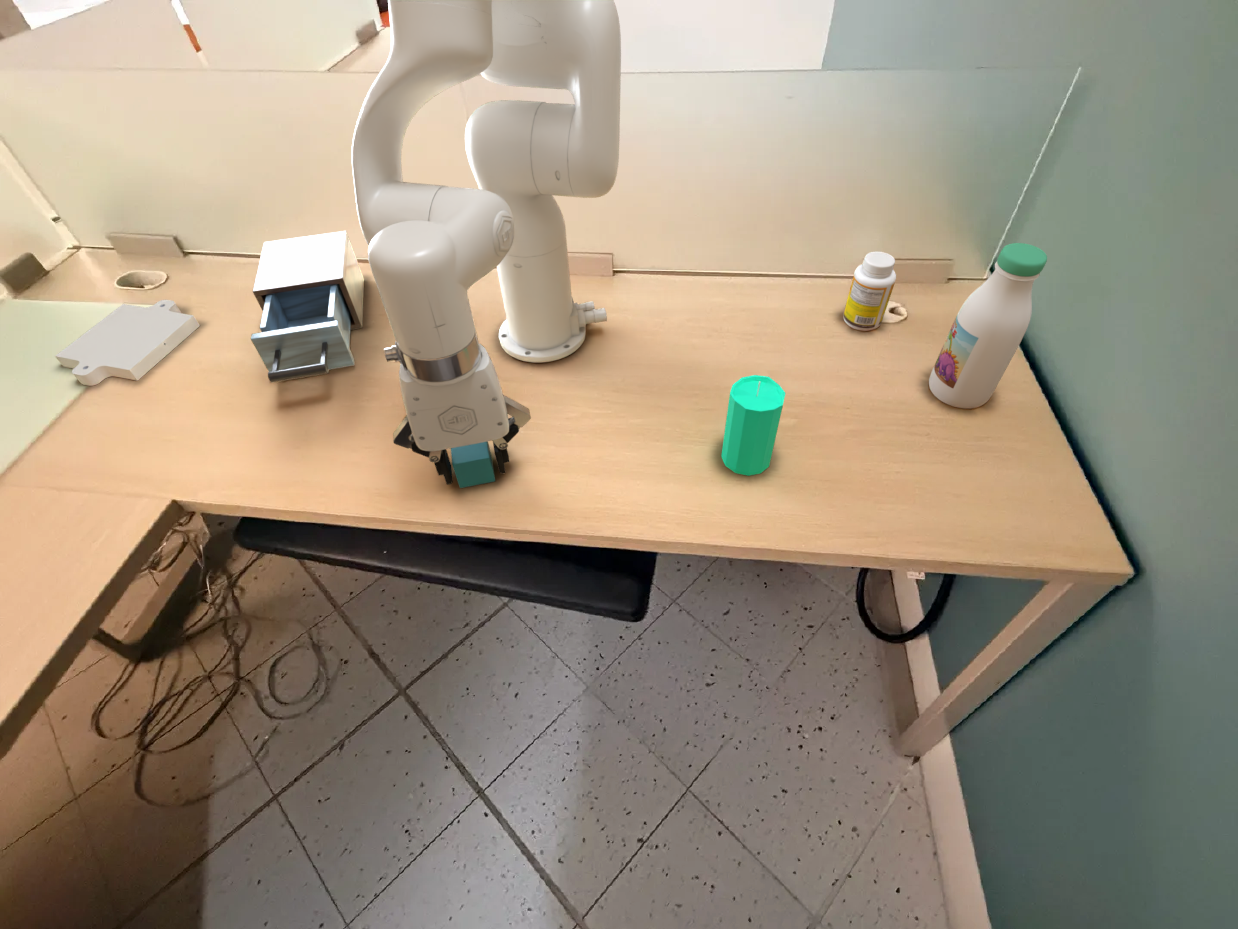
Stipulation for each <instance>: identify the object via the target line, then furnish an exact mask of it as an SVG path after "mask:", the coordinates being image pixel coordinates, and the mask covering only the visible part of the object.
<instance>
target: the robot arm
mask: <svg viewBox="0 0 1238 929" xmlns="http://www.w3.org/2000/svg"><path fill="white" fill-rule="evenodd" d="M387 3H388V4H387V6H388V8H387V9H388V18H389V28H390V50H389V54H388V56H387V57H388V58H387V59H386V62H385V64H384V65H383V66H382V68H381V70H380V72H379V73H378V74H377V76H376V78H375V79H374V81H373V83H372V84H371V86H370V88H369V90H368V91H367V94H366V97H365V98H364V101H363V103H362V106H361V108H360V112H359V114H358V117H357V120H356V125H355V128H354V132H353V137H352V144H351V168H352V177H353V178H352V179H353V187H354V196H355V203H356V204H355V205H356V212H357V216H358V217H357V218H358V221H359V227H360V231H361V232H362V235H363V239H364V240H365V242H366V244H367V246H368V248H367V259H368V263H369V267H370V269H371V273H372V277H373V279H374V282H375V284H376V287H377V290H378V294H379V296H380V299H381V302H382V304H383V307H384V310H385V313H386V316H387V319H388V322H389V325H390V328H391V330H392V333H393V336H394V339H395V342H394V345H391V347H385V348H383V352H384V357H385V360H386V362H387V363H389V362H390V363H391V362H394V363H399V371H398V378H399V387H400V393H401V397H402V402H403V406H404V409H405V410H404V411H405V413H406V415H405V417H404V418H403V419H402V421H400V423H399V425H398V426H397V428H396V429H395V430H394V431H393V433H392V436H393V437H392V438H393V439H392V442H393V444H394V445H396V446H398V447H402V448H405V449H410V450H411V451H412V452H413V453H415V454H418V455H421V456H423V457H426V458H428V460H429V462H430V463H433V464H434V467H435V469H436V472H437V473H436V474H437V475H438V476H443V478H444V481H445V483H446V484H445V485H447V486H448V485H451V484H453V483H454V480H453V469H452V468H453V466H452V462H451V459H450V457H449V454H448V451H447V450H449V449H450V450H451V448H455V447H461V446H466V445H471V444H477V443H482V442H487V441H488V442H492V445H493V452H494V456H495V460H496V464H497V469H498V472H499V474H501V475H504V474H506V473H507V472H506V466H505V464H506V463H510V456H509V451H508V448H509V443H510V442H511V441H512V440H513V438H514V437H515V436H516V435H517V434H518V433H520V432H519V431H520V430H521V428H524V426H525V425H527V423H529V421H531V419H532V416H531V411H530V409H529V407H527V406H525V405H523V404H522V403H519V402H518V401H516V400H515V399H512V398H510V397H508V396H506V395H505V394H504V392H503V388H502V385H501V381H500V379H499V376H498V373H497V370H496V368H495V365H494V362H493V360H492V358H491V356H490V354H489V352H488V350H487V349H486V347H485V346H484V345H483V344H481V343H480V342H479V338H478V334H477V329H476V325H475V321H474V317H473V313H472V308H471V304H470V300H469V296H468V290H469V289H470V288H471V287H472V286H474V284H476V283H477V282H478V281H480V280H482V279H483V278H484V277H486V276H487V275H488V274H490V273H491V272H492V271H493V270H494V269H496V270H497V276H498V281H499V286H500V292H501V296H502V303H503V308H504V313H505V319H504V320H503V321H502V323H501V325H500V327H499V329H498V340H499V344H500V346H501V349H503V351H504V352H505V353H506V354H508V355H509V356H511V357H512V358H514V359H516V360H520V361H523V362H528V363H549V362H553V361H558V360H561V359H564V358H566V357H568V356H569V355H571V354H573V353H574V352H576V351H577V350H579V348H580V347H581V346H582V345H583V343H584V341H585V340H586V335H587V332H586V331H587V330H586V327H587V324H597V323H603V322H607V321H608V315H607V310H606V308H605V307H601V308H596V307H595V303H594V301H593V300H592V301H586V302H582V303H578V302H575V301H574V299H573V298H574V297H573V296H572V295H573V294H572V285H571V274H570V264H569V262H570V261H569V251H568V241H567V229H566V222H565V218H564V215H563V212H562V209H561V207H560V205H559V203H558V202H557V200H556V198H555V197H568V198H581V199H582V198H583V199H597V198H601V197H603V196H605V195H607V194H608V193H609V192H610V191H611V190H612V189H613V187H614V185H615V182H616V179H617V176H618V169H619V161H620V160H619V159H620V140H621V139H620V136H621V135H620V133H621V131H620V130H621V81H622V80H621V79H622V78H621V77H622V35H621V24H620V18H619V17H620V16H619V12H618V9H617V6H616V3H615V0H387ZM479 75H481V77H482V78H483V79H485V80H486V81H488V82H490V83H493V84H496V85H501V86H508V87H516V88H530V89H548V90H560V91H563V90H564V91H568V92H570V94H571V96H572V99H573V101H574V103H561V102H560V103H558V102H546V101H534V100H522V99H521V100H519V99H499V100H493V101H489V102H485V103H483V104H481V105H479V106H478V107H477V108H476V109H474V110H473V112H472V113H471V114H470V116H469V118H468V120H467V122H466V126H465V131H464V145H465V146H464V147H465V152H466V156H467V160H468V164H469V167H470V169H471V172H472V174H473V177H474V180H475V182H476V184H477V187H478V188H472V187H460V186H449V185H442V184H431V183H422V182H421V183H420V182H411V181H410V182H409V181H404V177H403V167H402V166H403V165H402V164H403V163H402V155H403V154H402V152H403V144H404V139H405V136H406V134H407V130H408V129H409V126H410V123H411V122H412V120H413V119H414V118H415V117H416V115H417V113H418V112H419V111H420V110H421V109H422V108H423V107H424V106H425V105H426V104H427V103H428V102H429V101H431V100H432V99H434V98H435V97H436V96H437V95H439V94H441V93H443V92H445V91H446V90H448V89H450V88H453V87H455V86H456V85H459V84H462V83H464V82H466V81H469V80H471V79H473V78H476V77H478V76H479ZM554 196H555V197H554ZM509 416H510V417H509Z"/></svg>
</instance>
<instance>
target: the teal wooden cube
mask: <svg viewBox="0 0 1238 929" xmlns="http://www.w3.org/2000/svg"><path fill="white" fill-rule="evenodd" d="M490 448H491V447H490V445H489V441H487V442H482V443H477V444H471V445H466V446H461V447H455V448H450V455H451V467H452V468H453V469H452V470H453V472H454V474H455V478H456V480H457V484H458V487H459V488H460V489H463V488H468V487H469V488H470V487H474V486H480V485H484V484H490V483H494V482H496V476H495V468H494V463H493V462H494V461H493V456H492V453H491V449H490Z"/></svg>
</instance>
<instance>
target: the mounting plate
mask: <svg viewBox="0 0 1238 929" xmlns="http://www.w3.org/2000/svg"><path fill="white" fill-rule="evenodd" d="M200 326H201V325H200V323H199V322H198V320H197V319H196V317H195V315H194V314H187V313H182V312H181V309H180V308H179V307H178V304H177V303H176V302H175V301H174V300H172V299H161V300H158V301H157V302H156V303H154V304H153V305H151V306H147V307H145V306H139V305H132V304H128V303H127V304H126V303H122V304H120V306H117V308H116V309H114V310H113V311H112V312H110V313H109V314H107V315H106V316H105V317H103V318H102V319H101V320H99V321H98V322H97V323H96V324H95V325H93V326H92V327H91V328H89V329H88V330H87V331H86V332H84V333H83V334H81V335H80V336H79V337H77V338H76V339H74V341H72V342H71V343H70V344H68V345H67V346H65V348H63V349H62V350H60V351H59V352H57V354H55V355H54V357H55V359H56V360H57V361H58V362H59V363H60V365H61V366H62V367H63V368H69V369H72V370H71V374H72V375H73V376H74V377H75V378H76V379H77V380H78V382H79V383H80V384H81V385H82V386H83V385H84V386H88V387H92V386H96V385H99V384H100V383H101V382H103V381H104V380H105V379H107V378H109V377H116V378H120V379H125V380H132V381H137V382H138V381H139V380H140V379H142V378H143V377H144V376H145V375H146V374H147V373H149V372H150V371H151V370H152V369H153V368H154V367H155V366H156V365H157V364H158V363H160V362H161V361H162V360H163V359H164V358H165V357H166V356H168V355H169V354H170V353H171V352H172V351H173V350H174V349H175V348H177V347H178V346H179V345H180V344H181V343H182V342H183V341H185V340H186V339H187V338H188V337H189V336H190V335H192V334H193V333H194V332H195V331H196V330H197V329H198V328H200Z"/></svg>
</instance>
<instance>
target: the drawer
mask: <svg viewBox="0 0 1238 929" xmlns="http://www.w3.org/2000/svg"><path fill="white" fill-rule="evenodd" d="M259 323H260V324H259V330H260V332H255V333H251V337H250V340H251V342H252V345H253V346H254V348H255V349H256V351H257V353H258V355H259V357H260V358H261V360H262V362H263V364H264V366H265V368H266V369H267V377H268V381H269V382H270V383H277V382H283V381H284V382H285V381H289V380H294V379H302V378H308V377H314V376H321V375H326V374H329V373H330V371H329V370H334V369H341V368H347V367H352V366H355V361H356V360H355V358H354V355H353V353H352V351H351V348H350V342H351V330H350V326H351V313H350V310H349V308H348V305H347V303H346V300H345V298H344V295H343V293H342V290H341V287H340V285H339V284H334V285H327V286H320V287H314V288H307V289H300V290H294V291H287V292H280V293H273V294H267V295H266V299H265V304H264V309H263V311H262V314H261V319H260V322H259Z"/></svg>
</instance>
